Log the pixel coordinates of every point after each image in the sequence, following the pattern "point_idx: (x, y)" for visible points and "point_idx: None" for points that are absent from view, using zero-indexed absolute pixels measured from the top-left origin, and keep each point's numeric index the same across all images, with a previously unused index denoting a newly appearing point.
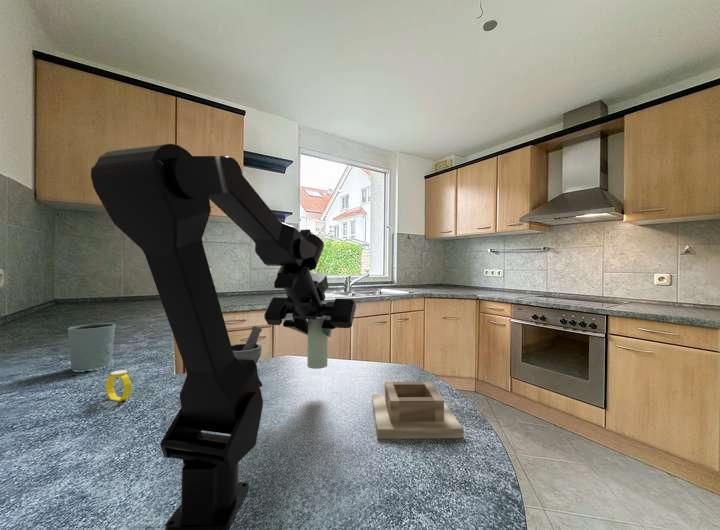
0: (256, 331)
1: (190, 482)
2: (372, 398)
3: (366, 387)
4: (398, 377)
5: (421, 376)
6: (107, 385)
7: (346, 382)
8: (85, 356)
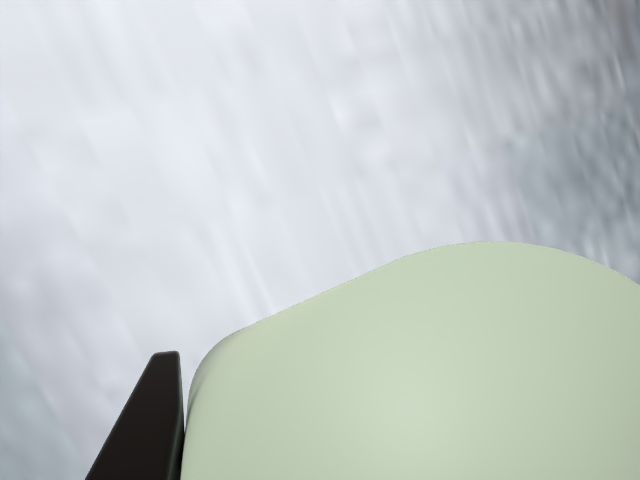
0: None
1: None
2: None
3: (445, 209)
4: (540, 39)
5: (626, 5)
6: None
7: (325, 169)
8: None
